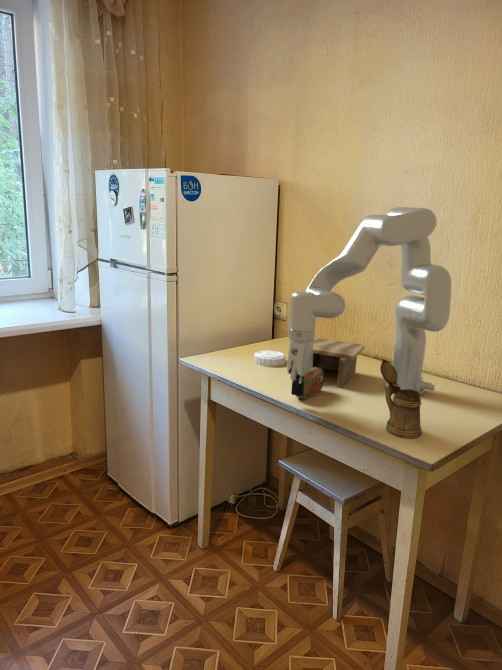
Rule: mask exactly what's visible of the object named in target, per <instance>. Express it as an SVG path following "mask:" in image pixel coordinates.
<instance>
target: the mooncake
mask: <svg viewBox="0 0 502 670" xmlns="http://www.w3.org/2000/svg"><path fill="white" fill-rule="evenodd" d="M253 357H254V358H253V362H254V363H255V364H256V365H259V366H264V367H273V368H274V367H280V366H284V365H285V364H286V361H287V360H286V358H287V356H286V354H284V353H283V352H281V351H278V350H269V349H267V350H266V349H265V350H264V349H263V350H260V351H259V350H258V351H256V352H255V353H254V354H253Z"/></svg>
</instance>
